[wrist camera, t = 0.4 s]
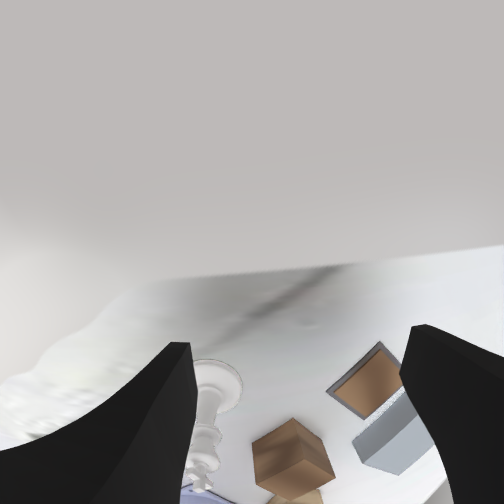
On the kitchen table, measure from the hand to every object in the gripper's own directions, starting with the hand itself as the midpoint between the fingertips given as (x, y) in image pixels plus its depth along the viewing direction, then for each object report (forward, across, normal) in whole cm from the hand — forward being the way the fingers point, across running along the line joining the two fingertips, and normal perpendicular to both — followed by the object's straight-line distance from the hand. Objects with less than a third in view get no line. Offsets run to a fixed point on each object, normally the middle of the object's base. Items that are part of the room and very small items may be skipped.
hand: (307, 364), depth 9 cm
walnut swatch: (+10, -8, +11) cm, 17 cm away
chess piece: (+10, +5, +10) cm, 15 cm away
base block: (+10, -12, +18) cm, 24 cm away
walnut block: (+9, -1, +16) cm, 19 cm away
